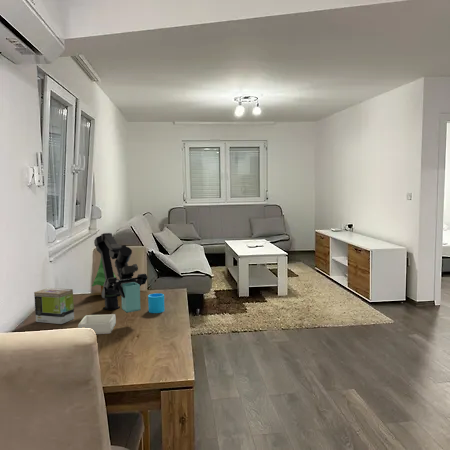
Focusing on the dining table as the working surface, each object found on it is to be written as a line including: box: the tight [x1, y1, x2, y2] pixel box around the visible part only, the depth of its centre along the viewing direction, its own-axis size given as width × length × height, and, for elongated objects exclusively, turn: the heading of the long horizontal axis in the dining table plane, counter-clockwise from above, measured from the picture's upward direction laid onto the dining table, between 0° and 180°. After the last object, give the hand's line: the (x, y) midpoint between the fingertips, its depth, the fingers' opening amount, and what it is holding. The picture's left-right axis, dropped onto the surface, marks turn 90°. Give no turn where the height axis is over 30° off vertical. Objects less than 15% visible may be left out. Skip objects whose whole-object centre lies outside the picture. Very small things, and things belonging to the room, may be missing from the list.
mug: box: [147, 292, 165, 314], centre depth 224 cm, size 12×8×8 cm
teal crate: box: [120, 282, 141, 313], centre depth 201 cm, size 7×7×12 cm
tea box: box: [33, 287, 75, 325], centre depth 209 cm, size 15×10×15 cm
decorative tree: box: [91, 258, 118, 296], centre depth 255 cm, size 14×16×30 cm
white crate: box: [77, 313, 117, 335], centre depth 195 cm, size 14×14×4 cm
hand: (131, 296), depth 200 cm, fingers closed on teal crate, 7 cm apart
